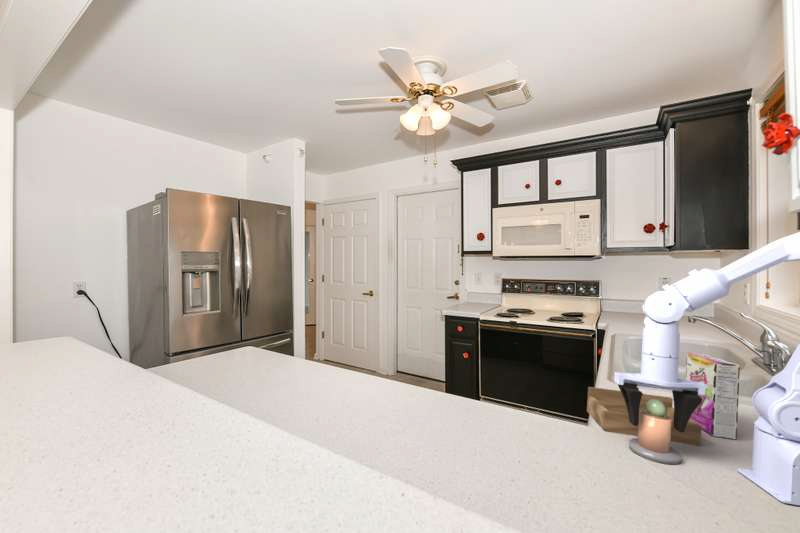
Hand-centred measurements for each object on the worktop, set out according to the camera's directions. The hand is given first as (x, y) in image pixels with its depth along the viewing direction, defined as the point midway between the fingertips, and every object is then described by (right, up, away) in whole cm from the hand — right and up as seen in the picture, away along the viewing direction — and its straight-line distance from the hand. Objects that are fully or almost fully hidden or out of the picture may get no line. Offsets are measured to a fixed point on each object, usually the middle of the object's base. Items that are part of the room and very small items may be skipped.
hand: (655, 427), depth 67 cm
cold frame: (+5, -6, +13) cm, 15 cm away
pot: (0, -4, 0) cm, 4 cm away
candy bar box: (+23, -8, +15) cm, 29 cm away
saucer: (0, -5, 0) cm, 5 cm away
